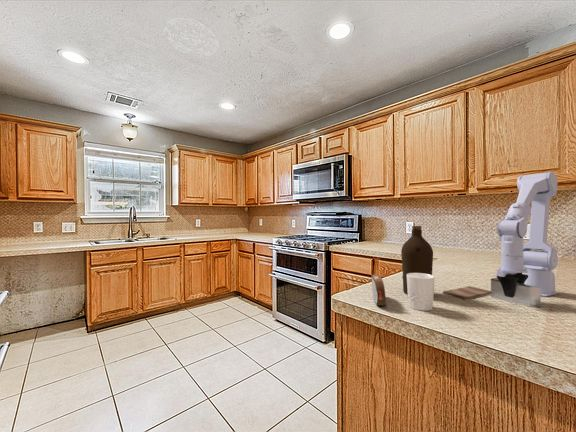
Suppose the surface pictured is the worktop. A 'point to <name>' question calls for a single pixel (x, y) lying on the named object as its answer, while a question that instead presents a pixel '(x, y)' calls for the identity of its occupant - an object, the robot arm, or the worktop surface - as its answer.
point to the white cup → (420, 291)
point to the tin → (378, 290)
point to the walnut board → (467, 292)
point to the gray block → (518, 294)
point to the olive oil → (416, 256)
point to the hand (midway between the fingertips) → (512, 295)
